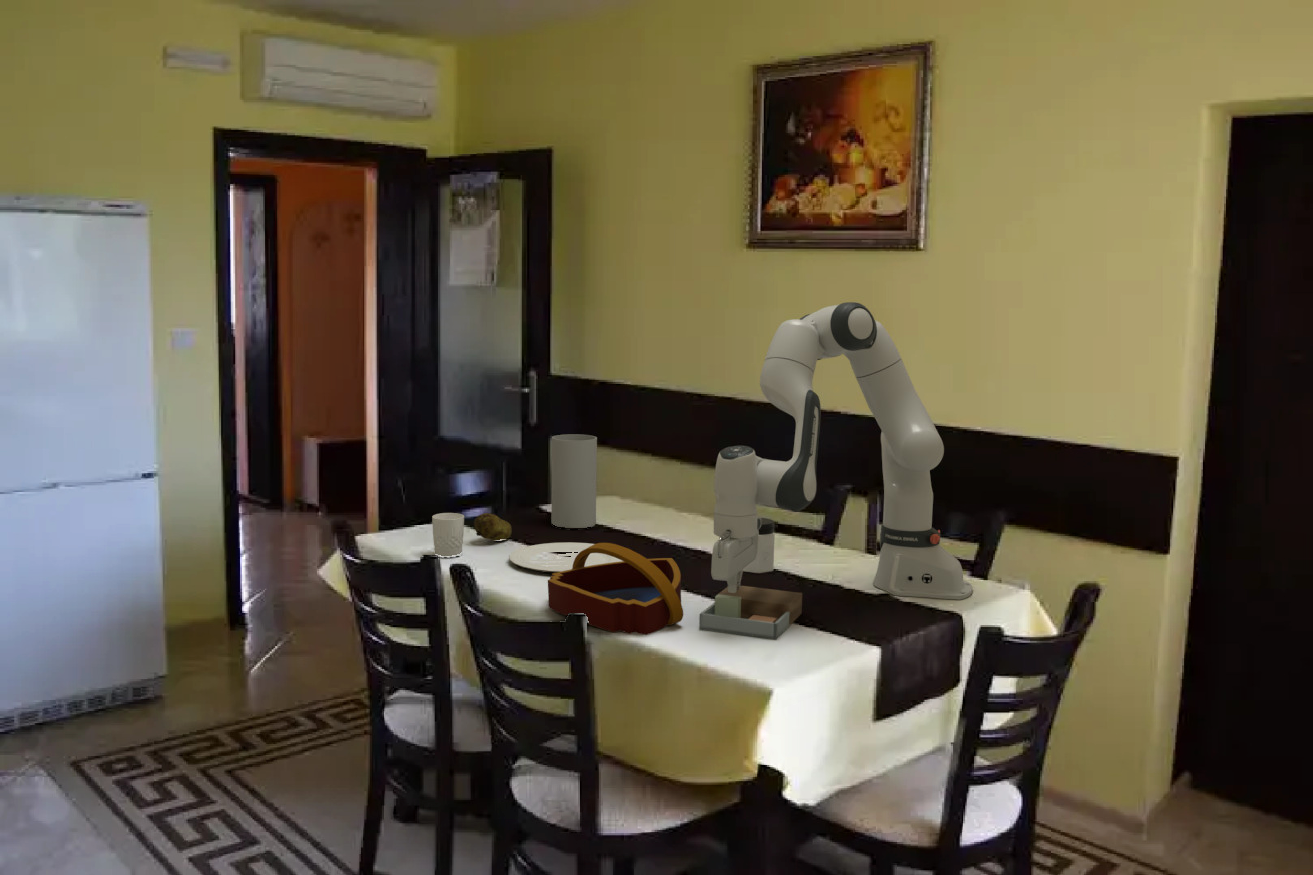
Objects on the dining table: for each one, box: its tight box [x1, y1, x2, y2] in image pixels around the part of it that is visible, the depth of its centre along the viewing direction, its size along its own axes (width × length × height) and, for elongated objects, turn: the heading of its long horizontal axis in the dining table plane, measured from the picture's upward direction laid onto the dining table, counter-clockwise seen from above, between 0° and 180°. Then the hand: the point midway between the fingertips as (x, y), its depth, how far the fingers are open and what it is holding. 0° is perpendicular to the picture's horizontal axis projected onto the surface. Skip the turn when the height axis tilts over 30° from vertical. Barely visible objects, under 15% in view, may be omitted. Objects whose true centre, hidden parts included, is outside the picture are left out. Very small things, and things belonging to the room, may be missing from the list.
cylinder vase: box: [551, 433, 598, 529], centre depth 332 cm, size 12×12×25 cm
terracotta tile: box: [749, 615, 777, 623], centre depth 239 cm, size 5×5×2 cm
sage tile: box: [714, 593, 741, 618], centre depth 244 cm, size 5×5×2 cm
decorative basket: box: [547, 542, 684, 636], centre depth 251 cm, size 34×29×15 cm
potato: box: [473, 512, 512, 541], centre depth 312 cm, size 8×13×8 cm, turn 136°
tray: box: [698, 601, 790, 641], centre depth 241 cm, size 16×9×3 cm, turn 68°
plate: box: [508, 542, 622, 574], centre depth 292 cm, size 29×29×2 cm
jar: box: [743, 517, 775, 574], centre depth 288 cm, size 9×8×12 cm
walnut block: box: [715, 585, 803, 627], centre depth 250 cm, size 16×10×4 cm, turn 68°
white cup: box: [431, 512, 465, 556], centre depth 296 cm, size 8×8×10 cm
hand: (734, 591), depth 245 cm, fingers closed
